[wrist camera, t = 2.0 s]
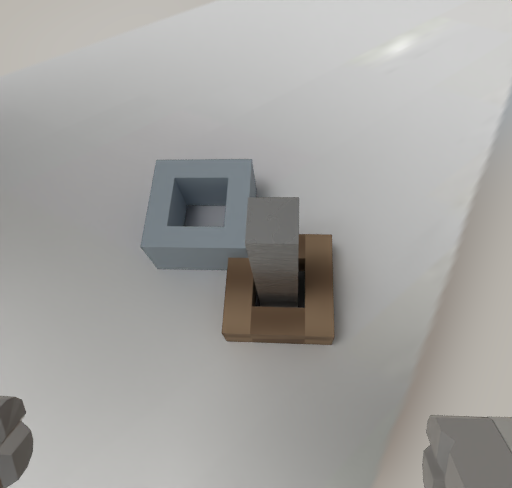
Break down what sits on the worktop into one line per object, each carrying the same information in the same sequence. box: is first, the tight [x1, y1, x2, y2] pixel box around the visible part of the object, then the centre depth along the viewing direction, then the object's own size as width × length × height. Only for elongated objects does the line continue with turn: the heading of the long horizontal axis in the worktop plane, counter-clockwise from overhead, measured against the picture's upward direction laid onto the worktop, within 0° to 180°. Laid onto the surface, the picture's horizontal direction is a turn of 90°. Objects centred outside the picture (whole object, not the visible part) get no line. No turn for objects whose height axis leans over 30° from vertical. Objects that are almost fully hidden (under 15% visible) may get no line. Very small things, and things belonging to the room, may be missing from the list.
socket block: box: [222, 234, 334, 345], centre depth 37 cm, size 9×9×3 cm
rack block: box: [141, 159, 256, 270], centre depth 40 cm, size 9×9×5 cm
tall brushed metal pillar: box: [245, 197, 299, 308], centre depth 32 cm, size 3×3×14 cm
